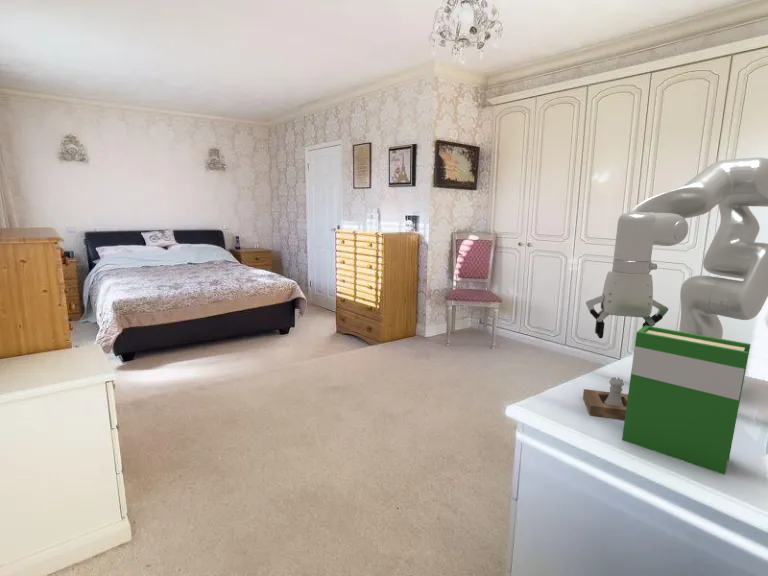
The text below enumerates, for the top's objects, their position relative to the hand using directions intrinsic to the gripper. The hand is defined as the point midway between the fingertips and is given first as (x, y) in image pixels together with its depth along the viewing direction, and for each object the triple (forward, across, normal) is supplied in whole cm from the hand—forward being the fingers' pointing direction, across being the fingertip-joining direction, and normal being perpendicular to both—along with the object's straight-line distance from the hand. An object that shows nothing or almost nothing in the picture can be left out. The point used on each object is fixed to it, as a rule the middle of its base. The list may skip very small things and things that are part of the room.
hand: (621, 338), depth 105 cm
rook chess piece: (+18, 0, 0) cm, 18 cm away
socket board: (+18, -2, 0) cm, 18 cm away
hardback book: (+18, -8, +16) cm, 26 cm away
